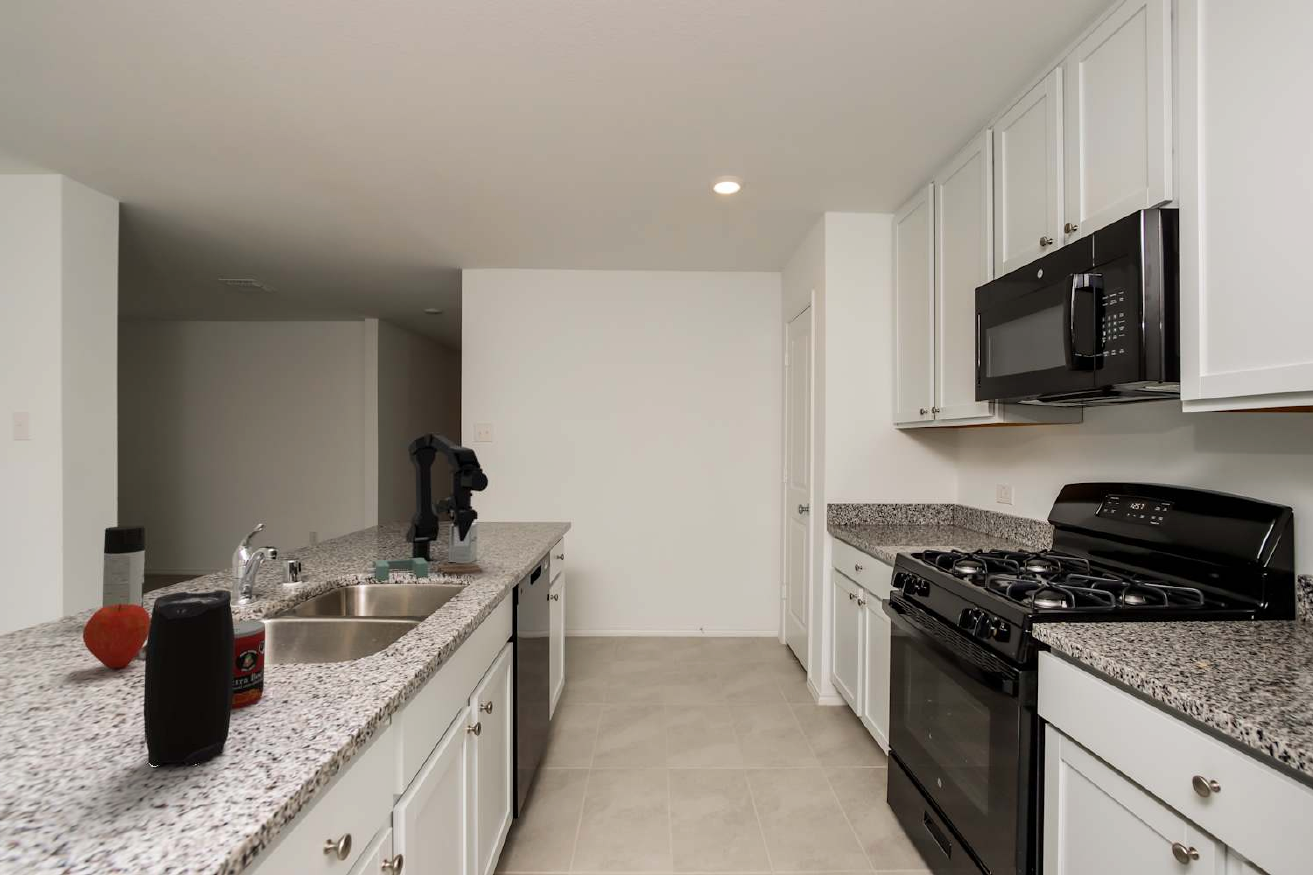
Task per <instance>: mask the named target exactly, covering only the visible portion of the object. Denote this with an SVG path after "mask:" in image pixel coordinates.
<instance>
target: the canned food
mask: <svg viewBox="0 0 1313 875" xmlns="http://www.w3.org/2000/svg"><path fill="white" fill-rule="evenodd" d="M233 627H234V634H235V645H234V689H233V701H232V705H233V708H232V709H231V711H233V710H236V709H241V708H245V707H247V706H250V705H252V704H255V703H257V702H258V701H259V700H260V699H261V698H262V695H263V692H264V685H265V684H264V683H265V658H266V657H265V656H266V654H265V652H266V650H265V649H266V624H265V622H263V621H261V620H255V619H244V620H233Z"/></svg>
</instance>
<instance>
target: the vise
mask: <svg viewBox="0 0 1313 875" xmlns="http://www.w3.org/2000/svg"><path fill="white" fill-rule="evenodd" d="M389 569H412V570H413V571H414V573H415V575H416V576H415V575H414V576H415V577H416V578H417V579H418V578H419V579H421V578H427V577H426V576H428V573H429V562H428V561H426V560H425V559H424V558H412V559H410V558H405V559H404V558H403V559H402V558H401V559H390V560H389V559H387V560H386V559H381V560H374V561H373V562H372V567H370V568H369V567H368V568H366V569H365V572H366V573H365V574H366V575H372V574H373V575H374V573H375V575H374V576H376V577H375V579H376V581H377V582H381V581H389V580H390V571H389ZM412 570H411V571H412ZM414 573H413V574H414ZM428 577H429V576H428Z"/></svg>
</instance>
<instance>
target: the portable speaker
mask: <svg viewBox="0 0 1313 875" xmlns="http://www.w3.org/2000/svg"><path fill="white" fill-rule="evenodd" d="M231 598H232V595H231V591H230V590H225V589H223V590H222V589H218V590H215V591H213V592H200V593H199V592H198V593H197V592H193V593H192V592H191V593H189V592H187V591H181V592H174V593H168V594H163V595H161V596H159V597H156V599H155V601H154V602H153V607H152V612H151V618H150V621H151V622H150V628H149V634H148V637H147V639H146V646H145V647H146V648H145V665H144V667H145V670H144V693H143V696H144V697H143V719H144V720H143V721H144V741H145V742H146V750H147V753H148V754H147V755H148V756H147V757H148V759H147V760H148V762H149V763H150V764H151V765H153V766H157V765H160V764H161V765H162V763H177V762H179V763H181V762H184V763H185V764H186V765H187V766H188V765H195V764H198V763H201V762H203V763H205V762H204V761H206V762H208V761H210V759H211V760H213V759H214V758H215V757H217V756H218V755H221V754H222V752H223V750H224V747H225V744H226V742H227V740H228V737H229V730H230V723H231V716H232V715H231V714H232V710H233V709H232V708H233V705H232V701H233V689H234V645H235V634H234V627H233V621H234V620H233V613H232V607H231V601H232V600H231ZM231 709H232V710H231ZM207 760H208V761H207ZM148 762H147V763H148ZM201 764H202V763H201ZM161 765H160V766H161Z"/></svg>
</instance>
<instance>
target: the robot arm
mask: <svg viewBox="0 0 1313 875" xmlns="http://www.w3.org/2000/svg"><path fill="white" fill-rule="evenodd" d="M407 449H408V450H407V451H408V455H409V461H410V462H411V464H412V465H413V467H414V469H415V498H416V499H415V502H416V508H415V510H416V511H415V513H414V515H413V516H412V518H411V520H410V521H411V524H410V526H409V529H408V531H407V532H406V534H405V541H406V542H407V543H410V544H411V548H412V549H411V556H410V557H409V559H412V558H424V559H425V560H426V562H428V561H433V557H431V542H433V541H434V542H437V540H438V537H439V536H438V535H439V531H440V526H439V525H440V524H439V515H441V514H442V513H445V514H446V515H447V518H449V519H450V520H451V521H452V524H454V525H458V532H459V538H460V541H464V539H465V537H466V535H467V533H468V531H469V529H470V527H471V525H472V523H474V521H475V520H478V514H479V512H478V511H476V510H475V509H474V508H473V506H472V497H473V492H483V491H485V490H486V488H487V487H488V485H489V479H488V477H487V474H486V473H484V472H483V468H481V464H480V462H479V460H478V458H477V455H476V452H475V451H474V450H473V449H472V448H468V447H464V446H459V445H458V444H456V443H455V442H454V441H451V440H450V439H448V438H447V437H446V436H444V434H443V433H442V432H430V431H429V432H428V433H427V432H426V434H424V435H423V436H421V437H418V438H416V439H414V440H413V441H412V442H411V443H410V444H409V446H408V448H407ZM438 452H440V453H441V454H442V455H443V456H445V457H446V461H447V463H448V464H449V465H450V466H451V467H452V469H451V470H449V473H448V474H449V475H451V476H452V477H451V492H450V493H449V497H446V498H442V499H438V500H437V501H435V502H433V499H432V498H433V497H432V466H433V465H434V463H435V462H436V459H437V458H436V457H437V454H438Z"/></svg>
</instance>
